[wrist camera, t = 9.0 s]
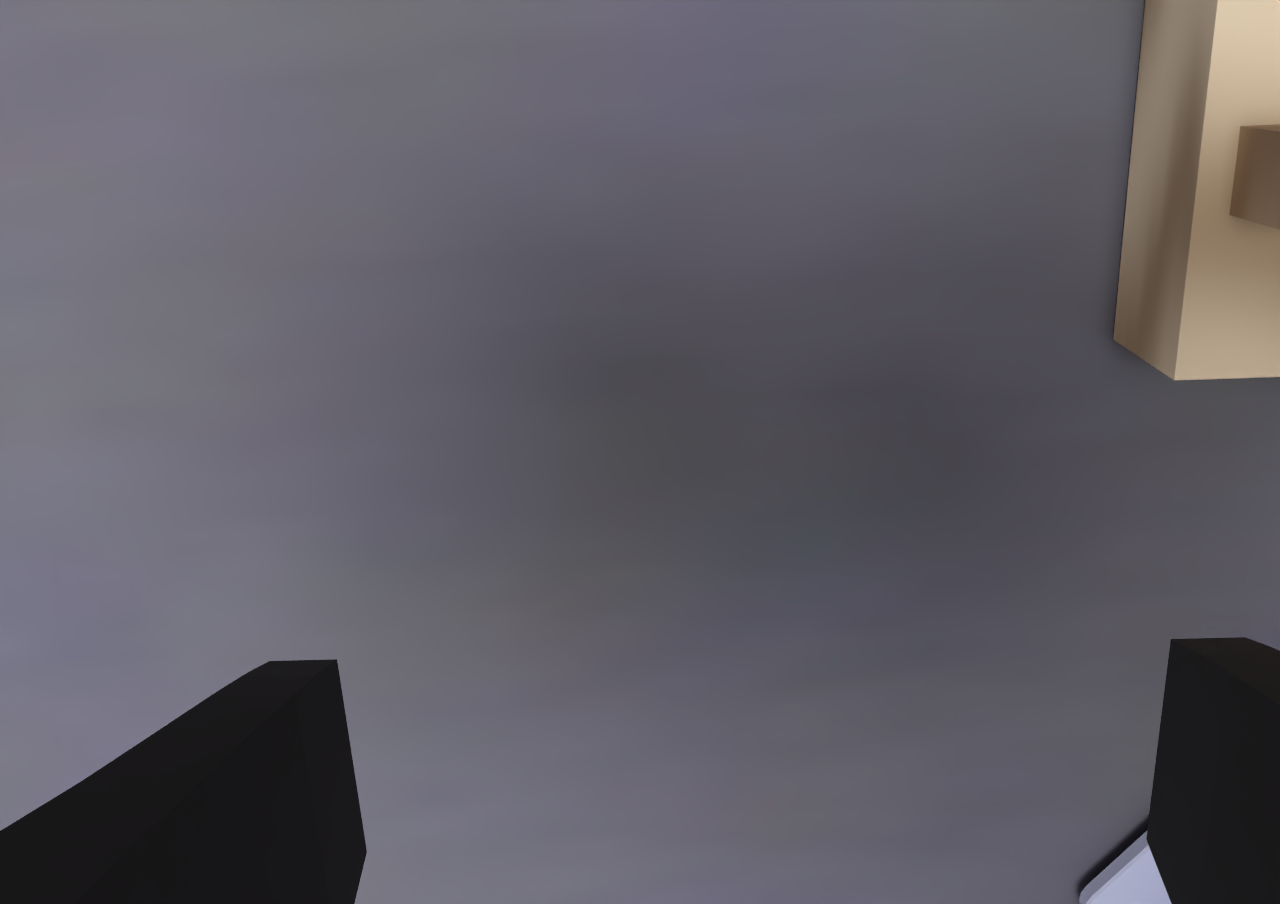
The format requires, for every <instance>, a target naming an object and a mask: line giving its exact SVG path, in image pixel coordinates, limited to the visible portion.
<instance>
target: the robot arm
mask: <svg viewBox="0 0 1280 904" xmlns="http://www.w3.org/2000/svg"><path fill="white" fill-rule="evenodd" d="M366 853H367V850H366V844H365V838H364V831H363V825H362V818H361V812H360V805H359V799H358V792H357V786H356V780H355V773H354V767H353V760H352V754H351V747H350V741H349V734H348V728H347V722H346V715H345V709H344V702H343V696H342V689H341V683H340V676H339V670H338V664H337V660H300V661H269V662H267V663H265V664H263V665H261V666H259V667H257V668H256V669H254V670H252V671H250V672H248V673H247V674H245V675H243V676H241V677H240V678H238V679H237V680H235V681H233V682H232V683H230V684H229V685H227V686H225V687H224V688H222V689H221V690H219V691H218V692H216V693H214V694H213V695H211V696H210V697H208V698H207V699H205V700H204V701H202V702H201V703H199V704H198V705H196V706H195V707H193V708H192V709H190V710H189V711H187V712H186V713H184V714H183V715H181V716H180V717H178V718H177V719H175V720H174V721H172V722H171V723H169V724H168V725H166V726H165V727H163V728H162V729H160V730H159V731H157V732H156V733H154V734H153V735H151V736H150V737H148V738H146V739H145V740H143V741H142V742H140V743H139V744H137V745H136V746H134V747H133V748H131V749H130V750H128V751H127V752H125V753H124V754H122V755H121V756H119V757H118V758H116V759H115V760H113V761H112V762H110V763H109V764H107V765H106V766H104V767H103V768H101V769H100V770H98V771H97V772H95V773H93V774H92V775H90V776H89V777H87V778H86V779H84V780H83V781H81V782H80V783H78V784H76V785H75V786H73V787H72V788H70V789H68V790H67V791H65V792H63V793H62V794H60V795H58V796H57V797H55V798H54V799H52V800H50V801H49V802H47V803H45V804H44V805H42V806H40V807H39V808H37V809H36V810H34V811H32V812H31V813H29V814H27V815H26V816H24V817H22V818H21V819H19V820H18V821H16V822H14V823H13V824H11V825H9V826H8V827H6V828H4V829H3V830H1V831H0V904H354V902H355V898H356V894H357V890H358V886H359V882H360V877H361V873H362V869H363V865H364V861H365V857H366ZM1079 903H1080V904H1280V651H1279V650H1276V649H1274V648H1272V647H1269V646H1267V645H1264V644H1261V643H1259V642H1256V641H1253V640H1251V639H1248V638H1245V637H1243V638H1202V639H1171V643H1170V651H1169V659H1168V667H1167V675H1166V684H1165V692H1164V700H1163V708H1162V716H1161V724H1160V732H1159V740H1158V748H1157V756H1156V765H1155V773H1154V781H1153V789H1152V797H1151V805H1150V813H1149V821H1148V829H1147V831H1146V832H1145V833H1144V834H1143V835H1142V836H1140V837H1139V838H1138V839H1137V840H1136V841H1135V842H1134V843H1133V844H1132V845H1131V846H1129V847H1128V848H1127V849H1126V850H1125V851H1124V852H1123V853H1122V854H1121V855H1120V856H1118V857H1117V858H1116V859H1115V860H1114V861H1113V862H1112V863H1111V864H1110V865H1108V866H1107V867H1106V868H1105V869H1104V870H1103V871H1102V872H1101V873H1100V874H1099V875H1097V876H1096V877H1095V878H1094V879H1093V880H1092V881H1091V882H1090V883H1089V884H1088V885H1086V887H1085V888H1084V889H1083V891H1082V892H1081V894H1080V899H1079Z"/></svg>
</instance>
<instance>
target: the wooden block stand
mask: <svg viewBox="0 0 1280 904" xmlns="http://www.w3.org/2000/svg"><path fill="white" fill-rule="evenodd" d="M1113 340H1114V341H1116V342H1117V343H1119V344H1120V345H1122V346H1123V347H1125V348H1126V349H1128V350H1129V351H1131V352H1132V353H1134V354H1135V355H1137V356H1138V357H1140V358H1141V359H1143V360H1144V361H1146V362H1147V363H1149V364H1150V365H1152V366H1153V367H1155V368H1156V369H1158V370H1159V371H1161V372H1162V373H1164V374H1165V375H1167V376H1168V377H1170V378H1171V379H1173V380H1202V379H1231V378H1259V377H1280V0H1145V10H1144V21H1143V31H1142V42H1141V52H1140V63H1139V73H1138V84H1137V95H1136V105H1135V116H1134V126H1133V137H1132V147H1131V158H1130V168H1129V179H1128V190H1127V200H1126V211H1125V221H1124V232H1123V242H1122V253H1121V263H1120V274H1119V285H1118V295H1117V306H1116V316H1115V327H1114V337H1113Z"/></svg>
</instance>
